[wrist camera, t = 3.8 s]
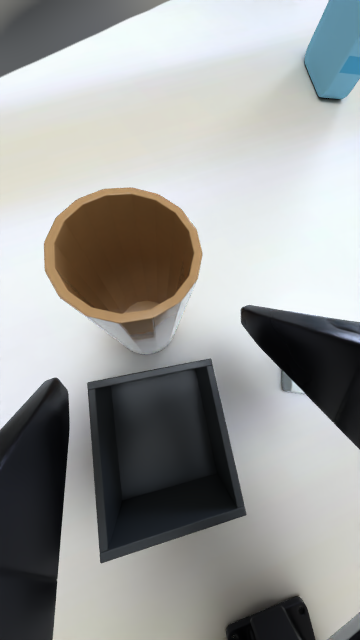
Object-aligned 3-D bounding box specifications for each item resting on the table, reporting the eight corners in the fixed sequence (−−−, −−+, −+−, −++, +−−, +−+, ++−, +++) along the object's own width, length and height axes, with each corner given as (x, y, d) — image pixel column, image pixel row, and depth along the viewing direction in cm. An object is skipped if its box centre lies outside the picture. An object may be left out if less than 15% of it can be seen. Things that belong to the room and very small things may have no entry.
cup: (179, 348, 20) (216, 308, 7) (121, 359, 19) (45, 334, 6) (169, 296, 21) (185, 184, 8) (115, 303, 20) (42, 191, 8)
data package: (342, 104, 34) (439, -36, 22) (319, 102, 33) (406, -43, 21) (323, 61, 37) (399, -83, 25) (301, 58, 36) (369, -89, 24)
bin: (222, 474, 17) (246, 515, 12) (118, 505, 16) (100, 564, 11) (198, 361, 19) (211, 358, 15) (106, 379, 18) (86, 382, 13)
